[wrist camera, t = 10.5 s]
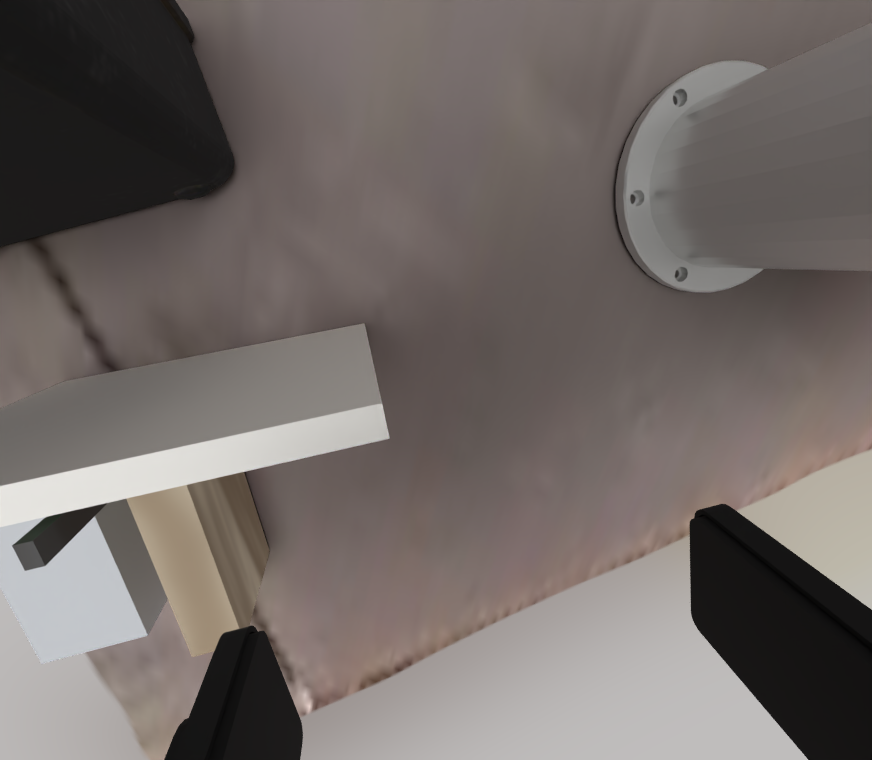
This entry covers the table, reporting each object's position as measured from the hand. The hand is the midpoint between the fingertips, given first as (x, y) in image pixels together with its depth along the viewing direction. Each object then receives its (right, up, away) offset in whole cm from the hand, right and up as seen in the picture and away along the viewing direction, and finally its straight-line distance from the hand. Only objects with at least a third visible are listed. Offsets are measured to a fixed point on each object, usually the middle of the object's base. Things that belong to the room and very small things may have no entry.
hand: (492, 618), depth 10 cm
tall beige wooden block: (-14, -1, +17) cm, 22 cm away
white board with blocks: (-13, 0, +17) cm, 22 cm away
